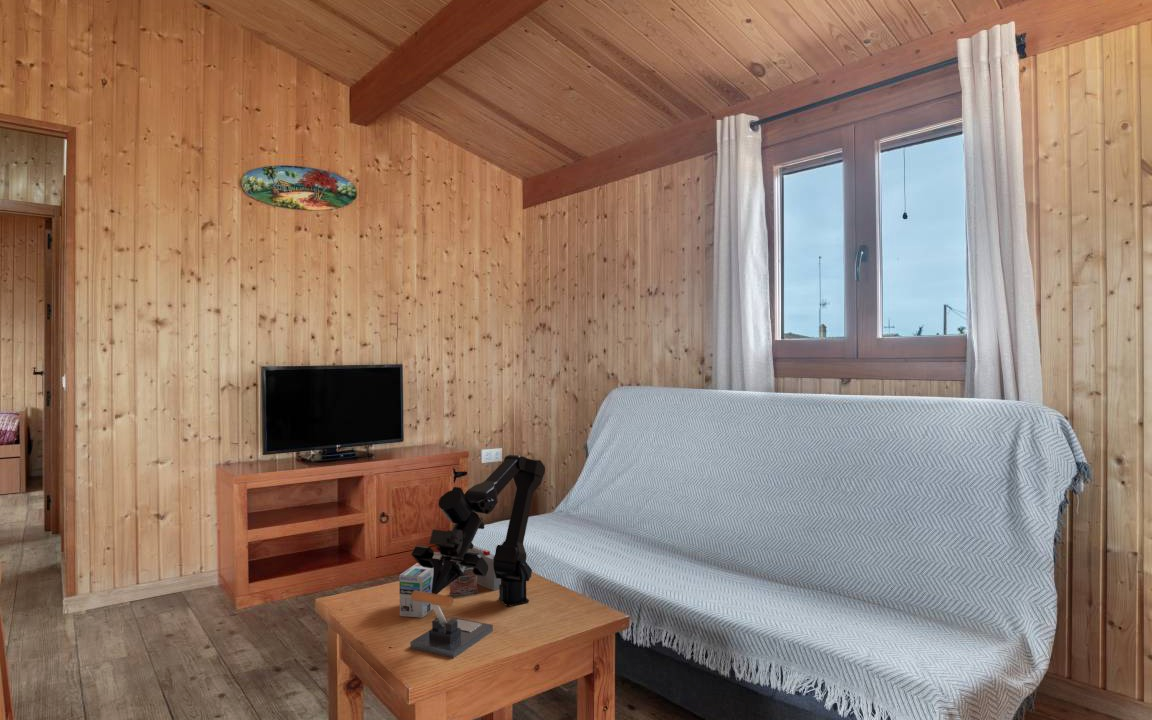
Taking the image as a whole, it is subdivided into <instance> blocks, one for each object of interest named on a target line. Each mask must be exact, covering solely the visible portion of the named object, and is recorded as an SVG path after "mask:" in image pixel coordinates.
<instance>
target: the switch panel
mask: <svg viewBox="0 0 1152 720" xmlns="http://www.w3.org/2000/svg"><path fill="white" fill-rule="evenodd" d="M431 621H432V622H431V626H432V627H431V628H430V629H429V630H428V631H426V632H425V633H423V634H421V635H420V636H418V637H416V638H414V639H413V640H411V641H410V647H409V648H410V649H412V650H416V651H420V652H425V653H428V654H429V653H430V654H433V655H437V656H442V657H447V658H451V659H454V658H456V657H457V656H459V655H460V654H462V653H464V652H465V651H466V650H467V649H470V647H472V646H473V645H475V644H476V643H477V642H479V641H481V640H482V639H483V638H485V637H486V636H488V635H489V634H491V633H492V632H493V631H494V630H493V629H494V628H493V627H494V625H493V624H489V623H486V622H485V623H484V622H480V621H475V620H469V619H464V618H460V617H456V616H451V617H450V618H448V619H446V621H447V623H446V626H442V625H441V623H440V621H439V619H438V617H437V618H435V619H433V620H431Z"/></svg>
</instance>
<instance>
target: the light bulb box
mask: <svg viewBox="0 0 1152 720" xmlns="http://www.w3.org/2000/svg"><path fill="white" fill-rule="evenodd" d="M433 574H434V568H426V567H422V566H421V565H420V564H419V563H418V562H417V563H415V564H414V565H412V566H410V567H409V568H407V569H406V570H405V571H403V572H402V573H400V574H399V577H398V578H399V579H398V580H399V616H400V617H405V618H406V617H407V618H408V617H409V618H418V619H419V618H420V619H423V618H424V617H425V616H427V615H428V614H429V613H430V612H431V611H433V610H434V609H433V607H432V605H431V604H430V603H425V602H419V601H414V600H412V599H411V595H412V592H413V591H414V590H417V591H422V592H428V593H432V592H431V591H432V583H433ZM439 593H440V592H439ZM439 593H438V594H439ZM439 595H440V594H439Z"/></svg>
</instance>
